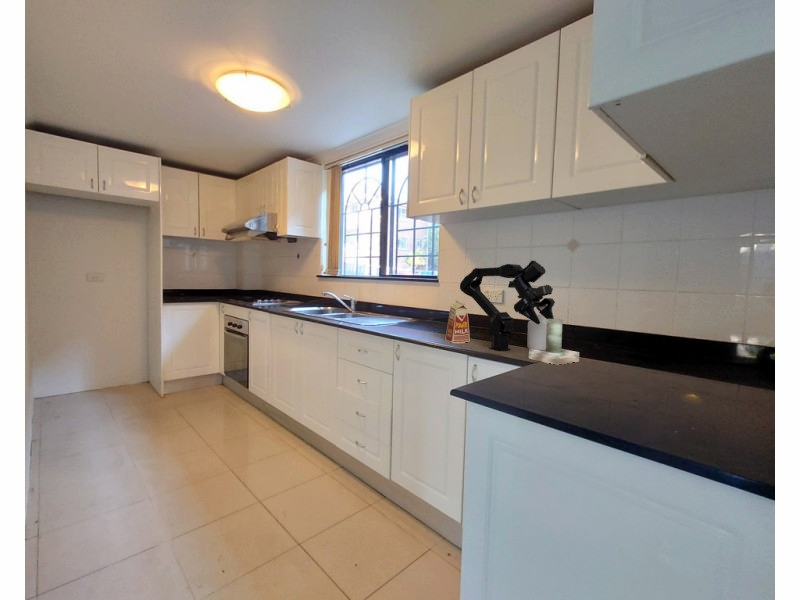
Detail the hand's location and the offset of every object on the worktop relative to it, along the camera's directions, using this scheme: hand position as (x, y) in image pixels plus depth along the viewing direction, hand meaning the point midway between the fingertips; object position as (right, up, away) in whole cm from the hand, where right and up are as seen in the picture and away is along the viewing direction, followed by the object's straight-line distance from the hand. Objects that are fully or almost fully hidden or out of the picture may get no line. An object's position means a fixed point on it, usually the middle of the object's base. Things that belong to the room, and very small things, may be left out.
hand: (546, 323), depth 127 cm
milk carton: (-27, -11, +35) cm, 46 cm away
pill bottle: (+5, -13, +21) cm, 25 cm away
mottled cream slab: (+2, -13, -1) cm, 14 cm away
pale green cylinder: (+2, -11, -1) cm, 12 cm away
